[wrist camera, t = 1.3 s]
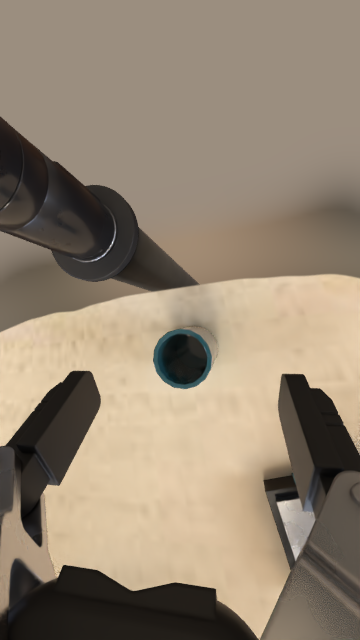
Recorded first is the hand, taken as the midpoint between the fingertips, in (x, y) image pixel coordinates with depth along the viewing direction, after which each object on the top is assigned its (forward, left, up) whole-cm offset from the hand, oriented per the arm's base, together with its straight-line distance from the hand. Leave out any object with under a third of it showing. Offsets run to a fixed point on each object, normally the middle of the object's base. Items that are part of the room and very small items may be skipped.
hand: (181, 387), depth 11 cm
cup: (0, -4, -27) cm, 27 cm away
